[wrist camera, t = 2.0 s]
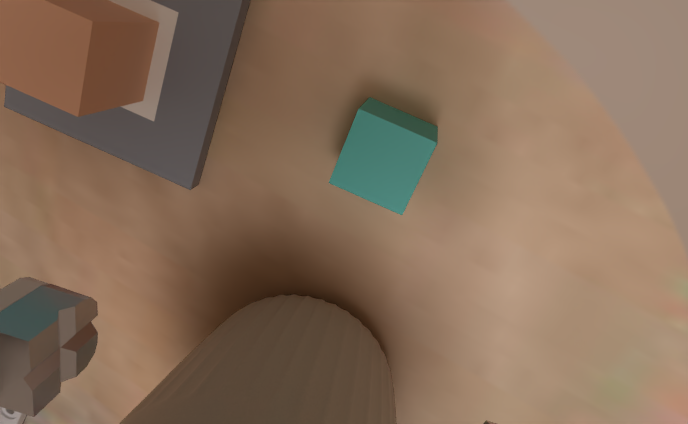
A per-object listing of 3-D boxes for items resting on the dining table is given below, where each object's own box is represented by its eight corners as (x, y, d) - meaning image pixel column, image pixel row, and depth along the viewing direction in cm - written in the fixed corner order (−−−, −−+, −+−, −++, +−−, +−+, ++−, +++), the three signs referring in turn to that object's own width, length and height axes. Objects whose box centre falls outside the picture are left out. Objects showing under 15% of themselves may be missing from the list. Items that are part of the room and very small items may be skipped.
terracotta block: (142, 100, 30) (77, 116, 25) (72, 69, 30) (-8, 78, 25) (159, 22, 28) (92, 21, 23) (84, -11, 28) (-1, -20, 23)
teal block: (406, 190, 31) (402, 215, 27) (343, 162, 31) (328, 182, 27) (437, 126, 29) (437, 142, 25) (369, 96, 29) (358, 108, 25)
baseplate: (198, 184, 33) (190, 190, 32) (18, 104, 33) (3, 106, 32) (257, -24, 28) (249, -26, 27) (40, -118, 28) (23, -125, 27)
